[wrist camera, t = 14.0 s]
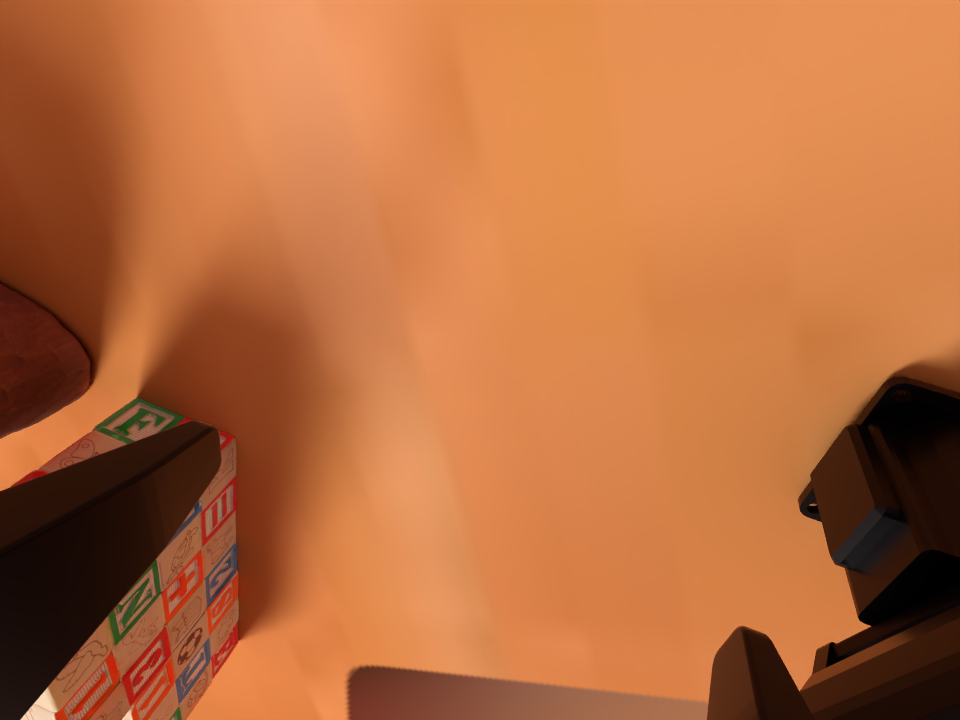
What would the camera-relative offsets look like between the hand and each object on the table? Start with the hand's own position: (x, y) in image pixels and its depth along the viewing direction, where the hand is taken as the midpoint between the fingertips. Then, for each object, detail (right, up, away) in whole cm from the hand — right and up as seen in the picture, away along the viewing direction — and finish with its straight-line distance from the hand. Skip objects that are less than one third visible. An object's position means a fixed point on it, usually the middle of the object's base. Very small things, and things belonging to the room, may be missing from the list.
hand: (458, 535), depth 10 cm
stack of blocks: (-18, -8, +28) cm, 34 cm away
